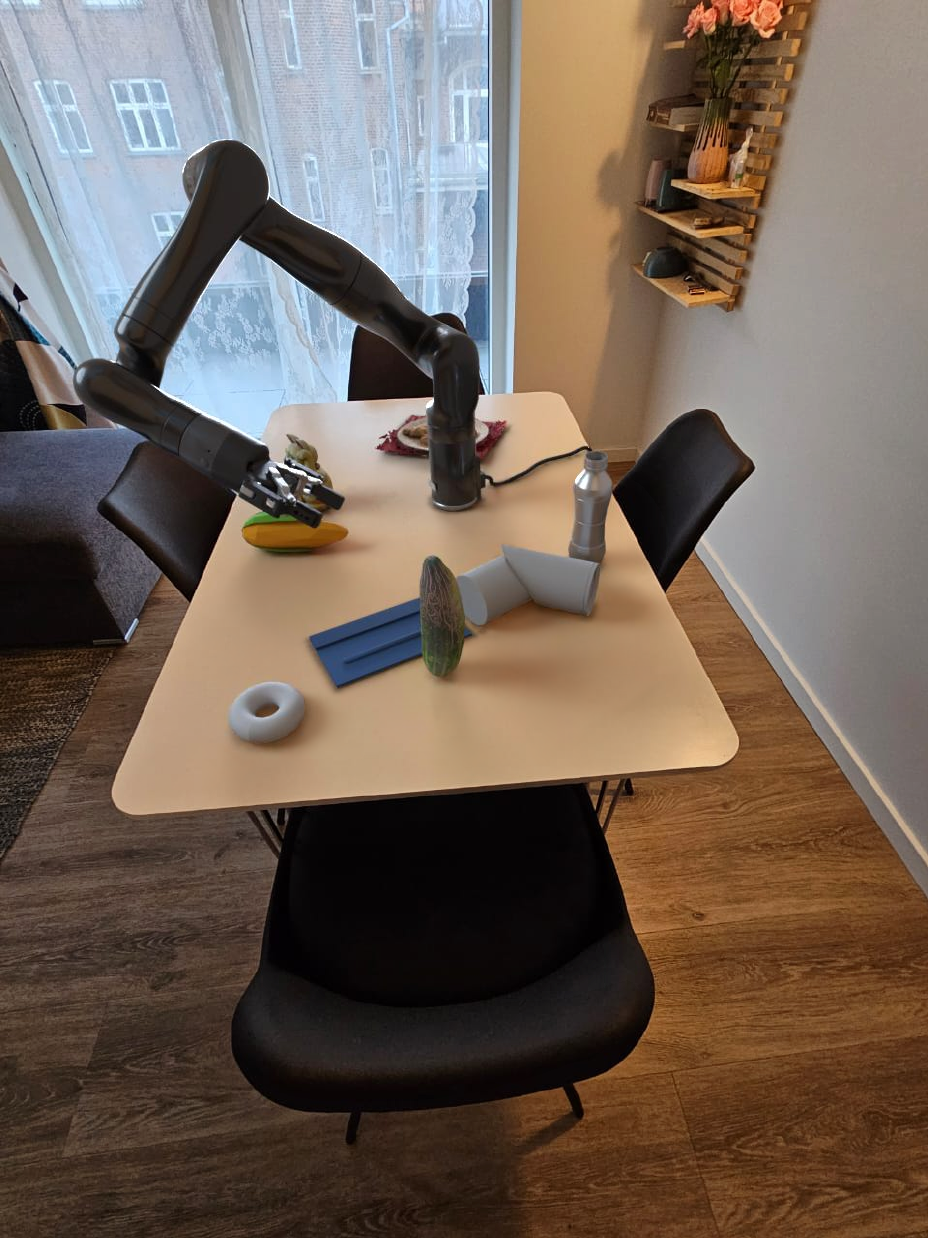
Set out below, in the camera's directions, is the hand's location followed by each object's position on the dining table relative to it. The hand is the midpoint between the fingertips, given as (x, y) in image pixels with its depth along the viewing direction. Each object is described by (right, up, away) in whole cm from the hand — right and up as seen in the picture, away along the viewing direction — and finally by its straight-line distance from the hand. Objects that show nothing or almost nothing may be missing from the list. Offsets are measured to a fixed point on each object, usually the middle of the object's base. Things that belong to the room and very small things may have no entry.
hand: (331, 512), depth 88 cm
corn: (-13, -1, +33) cm, 36 cm away
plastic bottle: (+40, -4, +26) cm, 48 cm away
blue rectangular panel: (+7, -17, +12) cm, 22 cm away
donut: (-8, -28, 0) cm, 29 cm away
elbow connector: (+29, -13, +17) cm, 36 cm away
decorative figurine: (-12, +9, +46) cm, 48 cm away
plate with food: (+13, +29, +68) cm, 75 cm away
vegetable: (+16, -22, +6) cm, 28 cm away
